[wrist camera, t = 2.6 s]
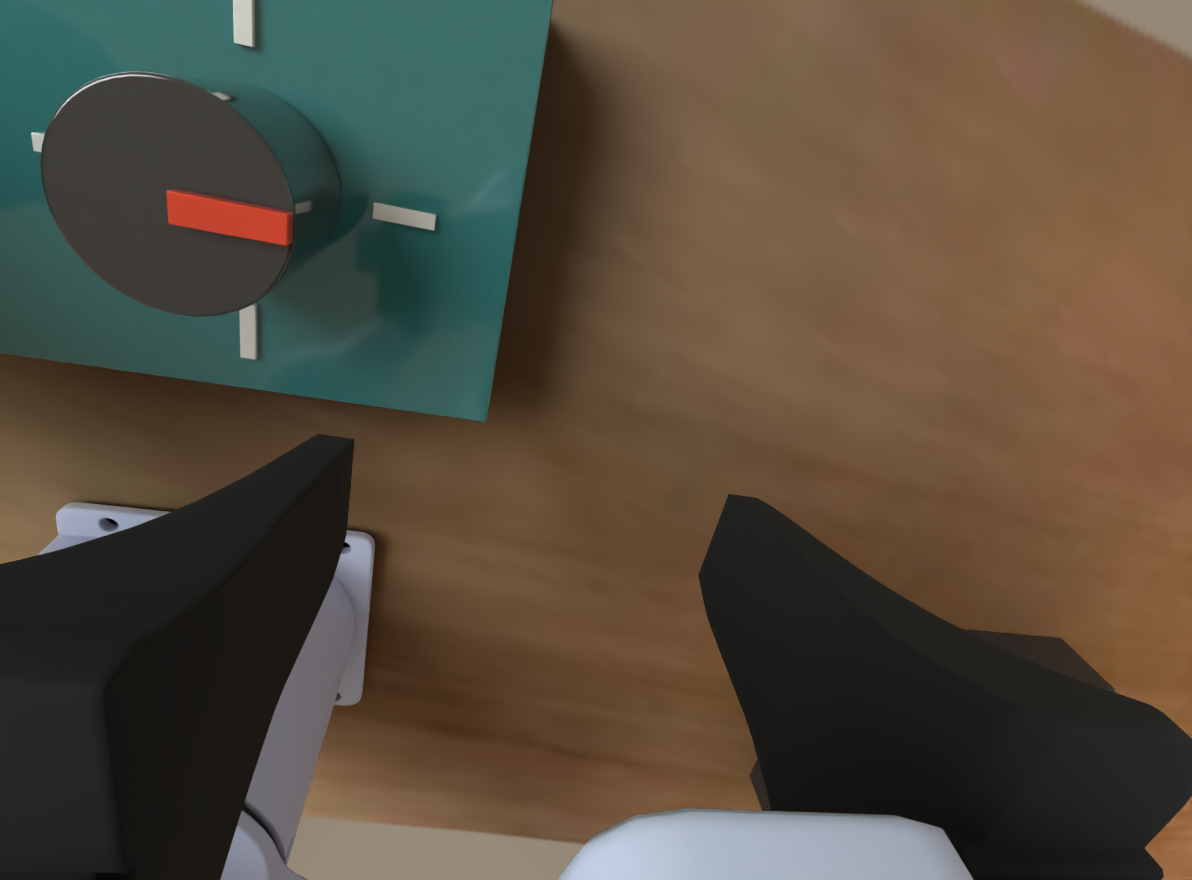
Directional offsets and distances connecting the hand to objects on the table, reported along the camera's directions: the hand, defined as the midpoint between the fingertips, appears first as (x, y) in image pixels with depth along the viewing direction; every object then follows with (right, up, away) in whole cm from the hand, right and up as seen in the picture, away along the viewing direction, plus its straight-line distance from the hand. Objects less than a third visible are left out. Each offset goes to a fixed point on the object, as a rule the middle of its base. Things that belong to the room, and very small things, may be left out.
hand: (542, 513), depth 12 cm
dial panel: (-7, +8, +5) cm, 12 cm away
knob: (-7, +7, +2) cm, 10 cm away
